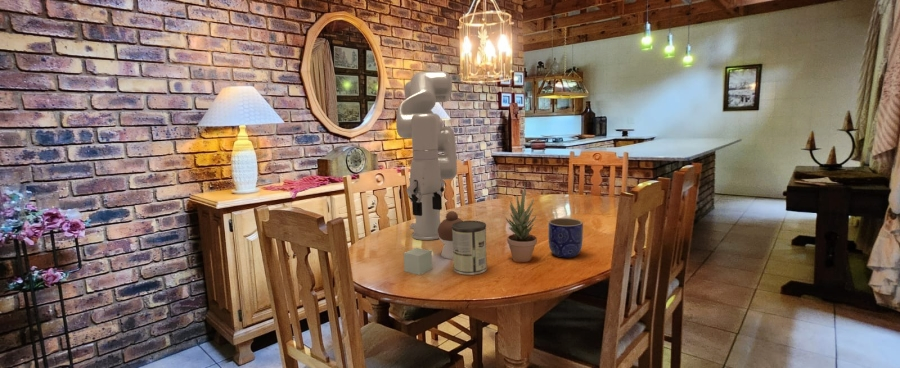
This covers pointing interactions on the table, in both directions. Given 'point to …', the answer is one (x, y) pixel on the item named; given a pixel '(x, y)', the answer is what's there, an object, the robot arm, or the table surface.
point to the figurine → (447, 234)
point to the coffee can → (469, 247)
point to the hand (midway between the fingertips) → (427, 212)
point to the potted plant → (521, 232)
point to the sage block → (417, 261)
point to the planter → (565, 237)
